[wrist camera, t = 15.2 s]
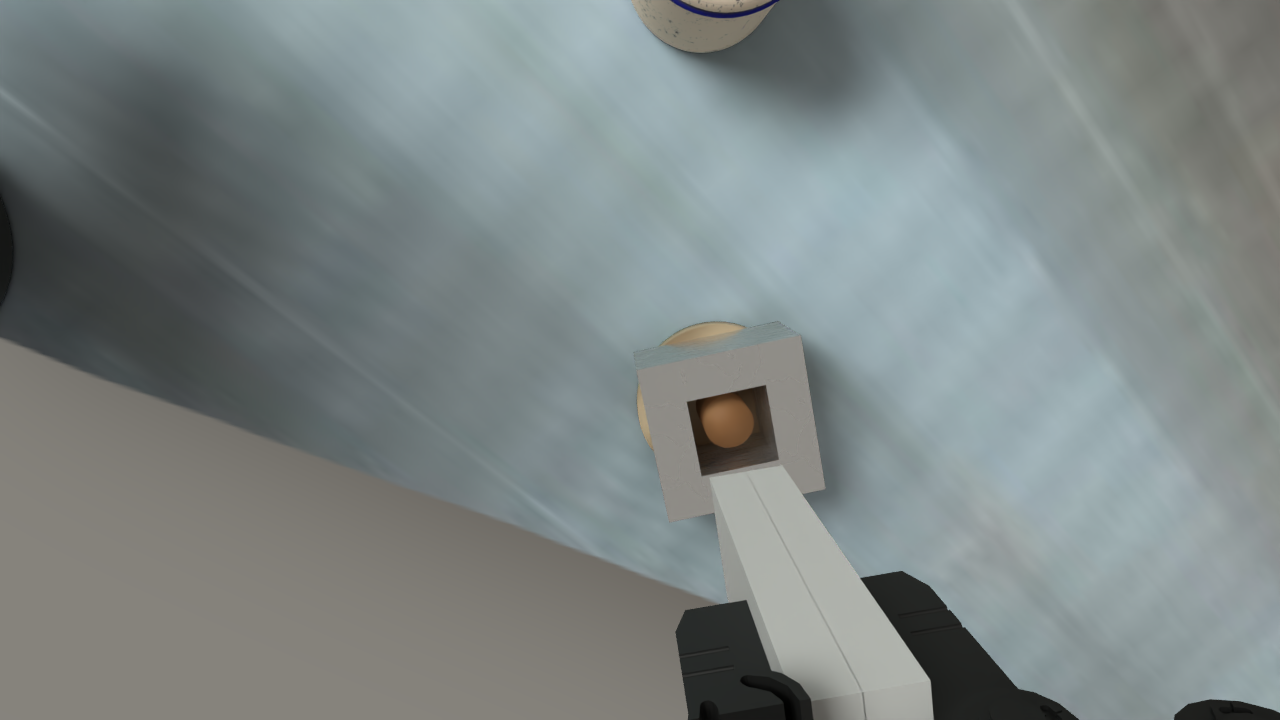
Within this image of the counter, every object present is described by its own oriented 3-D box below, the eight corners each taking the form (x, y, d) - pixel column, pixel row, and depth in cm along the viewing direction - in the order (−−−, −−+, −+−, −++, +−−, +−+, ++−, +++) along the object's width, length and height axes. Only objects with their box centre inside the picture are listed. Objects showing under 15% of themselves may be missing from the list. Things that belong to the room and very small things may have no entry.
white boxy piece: (633, 352, 42) (636, 370, 37) (778, 321, 42) (800, 335, 37) (662, 487, 43) (669, 522, 39) (801, 458, 43) (825, 489, 39)
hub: (605, 416, 44) (605, 444, 39) (698, 290, 42) (711, 300, 37) (729, 500, 45) (745, 538, 40) (822, 380, 44) (852, 403, 39)
